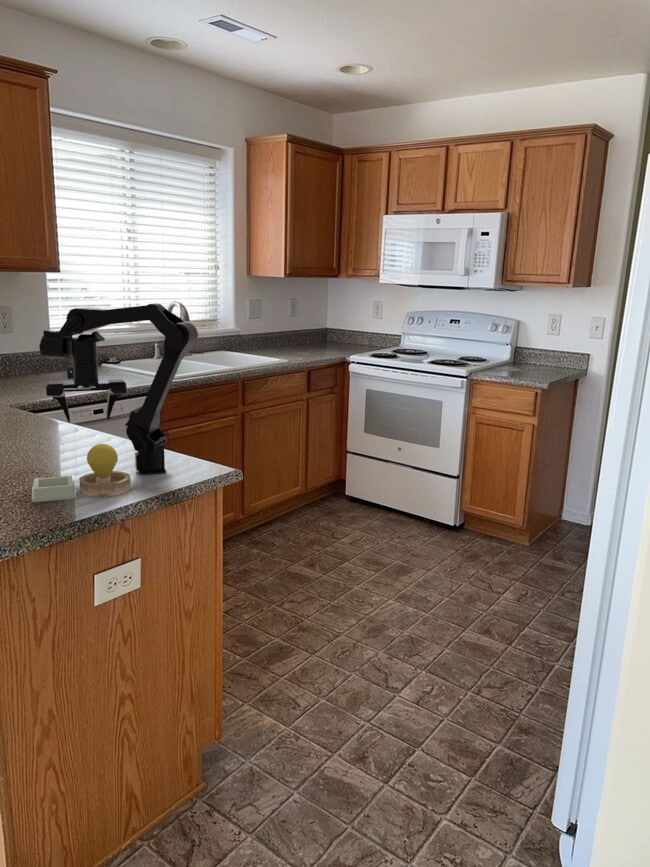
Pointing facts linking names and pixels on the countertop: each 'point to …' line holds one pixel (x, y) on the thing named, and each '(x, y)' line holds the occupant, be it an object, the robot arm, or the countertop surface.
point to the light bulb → (102, 461)
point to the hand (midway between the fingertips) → (88, 421)
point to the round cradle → (105, 485)
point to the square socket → (53, 489)
